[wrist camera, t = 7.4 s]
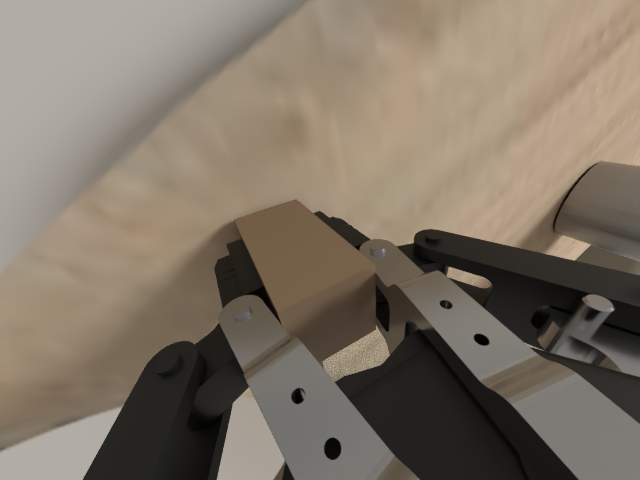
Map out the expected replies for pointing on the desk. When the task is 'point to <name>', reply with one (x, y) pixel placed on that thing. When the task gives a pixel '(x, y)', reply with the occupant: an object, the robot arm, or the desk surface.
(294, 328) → the block ended dumbbell
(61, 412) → the desk surface
